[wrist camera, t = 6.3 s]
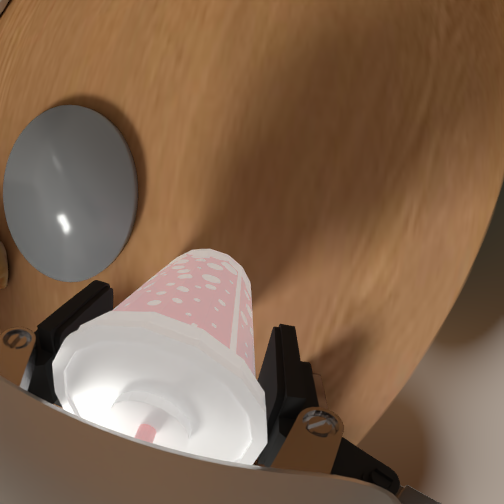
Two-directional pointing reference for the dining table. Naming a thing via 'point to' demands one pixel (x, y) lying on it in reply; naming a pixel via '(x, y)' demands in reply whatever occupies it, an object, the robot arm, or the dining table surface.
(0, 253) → the pastry
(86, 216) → the coaster
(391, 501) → the robot arm
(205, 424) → the beverage cup
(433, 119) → the dining table surface
